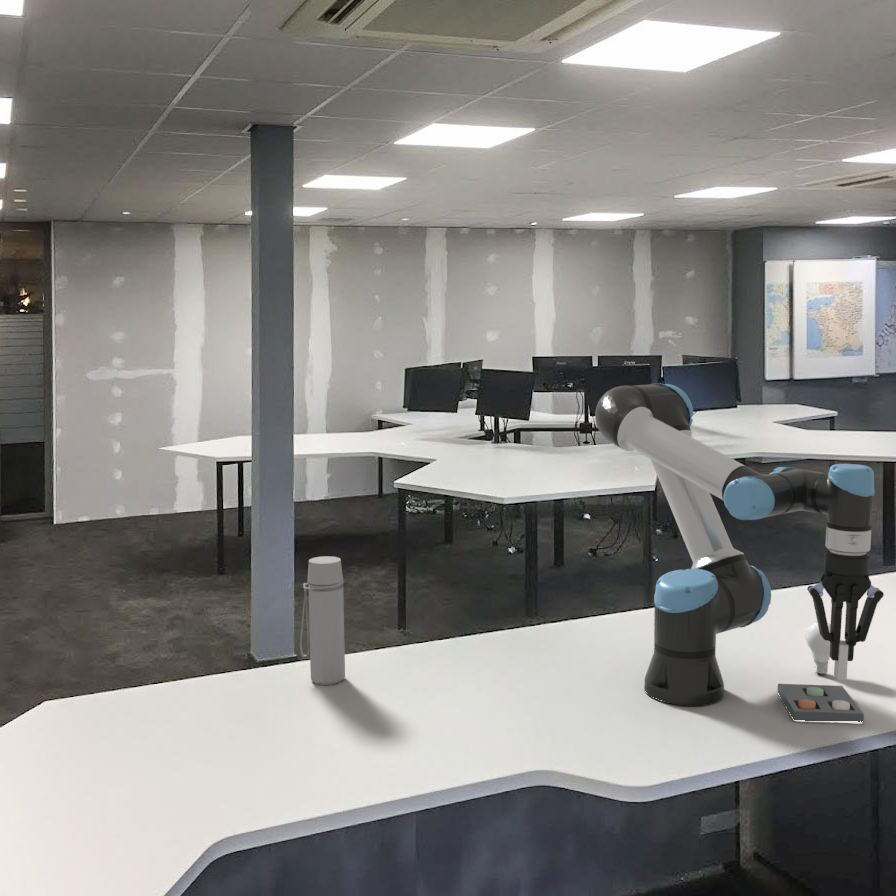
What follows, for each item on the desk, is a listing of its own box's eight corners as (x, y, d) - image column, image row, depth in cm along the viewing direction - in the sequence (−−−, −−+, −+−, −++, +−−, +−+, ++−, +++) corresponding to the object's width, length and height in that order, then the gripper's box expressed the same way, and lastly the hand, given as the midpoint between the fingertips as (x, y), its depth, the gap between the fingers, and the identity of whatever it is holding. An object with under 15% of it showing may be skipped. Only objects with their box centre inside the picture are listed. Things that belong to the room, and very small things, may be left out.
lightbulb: (841, 679, 200) (844, 626, 199) (810, 679, 200) (812, 626, 199) (830, 668, 206) (832, 617, 205) (799, 668, 206) (801, 617, 205)
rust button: (800, 715, 181) (800, 704, 180) (796, 709, 184) (796, 698, 183) (817, 716, 180) (817, 705, 180) (813, 710, 183) (813, 699, 183)
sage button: (808, 702, 187) (808, 692, 186) (804, 697, 190) (805, 686, 189) (825, 703, 186) (825, 692, 186) (820, 697, 189) (821, 687, 189)
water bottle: (349, 673, 206) (346, 555, 203) (341, 687, 198) (339, 564, 195) (306, 672, 207) (302, 555, 204) (296, 686, 199) (293, 564, 196)
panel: (794, 721, 179) (794, 711, 179) (777, 693, 193) (777, 683, 192) (863, 724, 178) (863, 713, 177) (841, 695, 191) (842, 685, 191)
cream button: (834, 717, 180) (834, 705, 180) (829, 710, 183) (830, 699, 183) (851, 717, 180) (851, 706, 179) (846, 711, 183) (847, 700, 182)
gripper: (815, 554, 175) (808, 683, 178) (892, 557, 173) (884, 686, 176) (804, 545, 182) (798, 668, 185) (878, 547, 181) (871, 671, 184)
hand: (840, 677), depth 181 cm, fingers closed
